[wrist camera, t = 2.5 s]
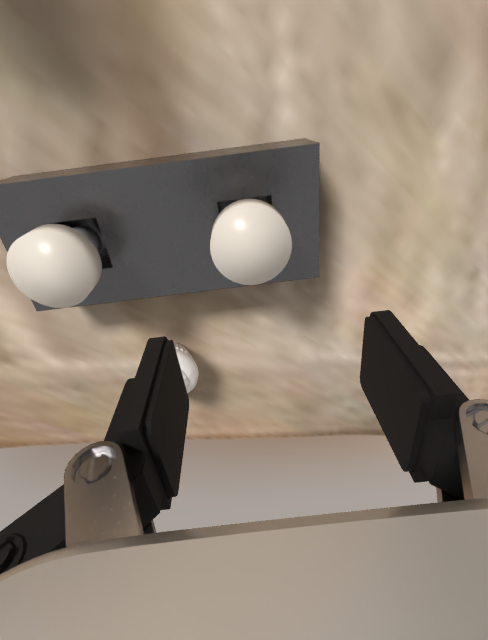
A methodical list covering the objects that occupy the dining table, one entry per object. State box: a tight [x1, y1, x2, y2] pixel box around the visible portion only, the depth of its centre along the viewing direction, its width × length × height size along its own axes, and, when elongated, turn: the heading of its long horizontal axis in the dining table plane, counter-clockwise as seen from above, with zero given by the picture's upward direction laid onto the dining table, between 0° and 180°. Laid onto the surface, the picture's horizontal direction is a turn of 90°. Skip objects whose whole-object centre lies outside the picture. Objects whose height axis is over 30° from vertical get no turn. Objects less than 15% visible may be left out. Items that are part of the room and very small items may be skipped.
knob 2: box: [210, 199, 292, 285], centre depth 24 cm, size 5×5×6 cm
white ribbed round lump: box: [174, 342, 199, 394], centre depth 35 cm, size 6×6×7 cm
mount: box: [0, 138, 319, 311], centre depth 28 cm, size 24×10×5 cm, turn 96°
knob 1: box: [7, 224, 102, 308], centre depth 25 cm, size 5×5×6 cm
